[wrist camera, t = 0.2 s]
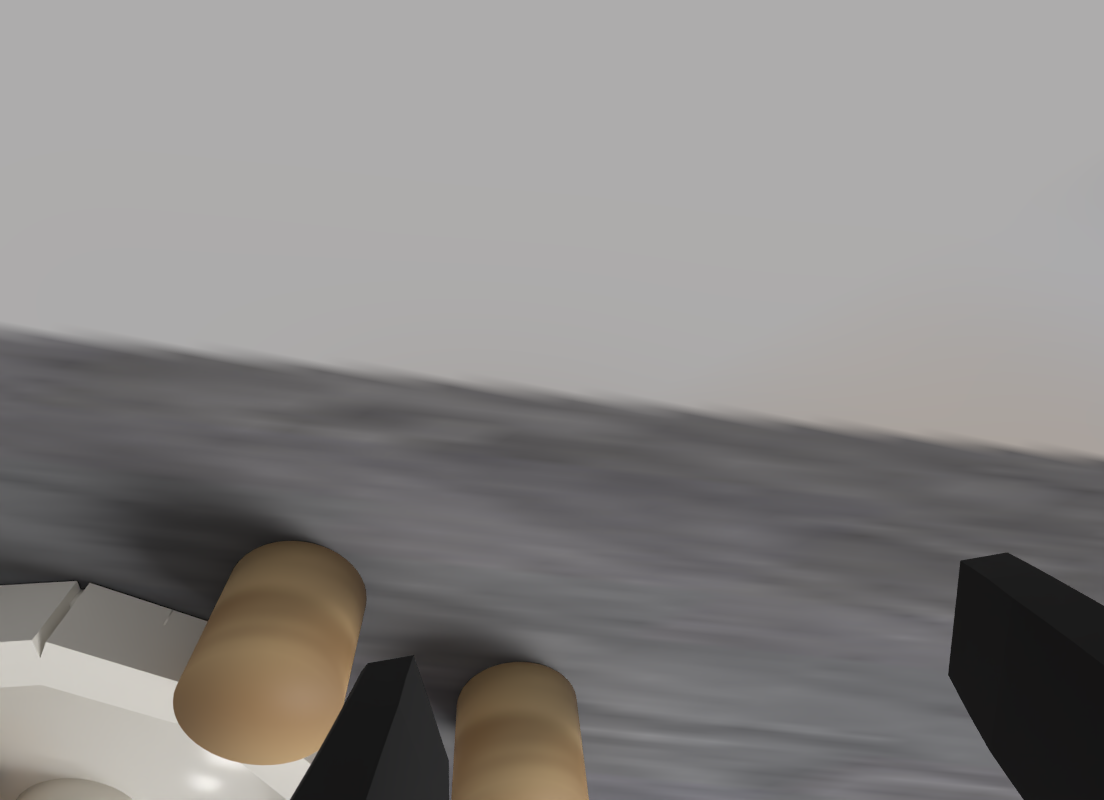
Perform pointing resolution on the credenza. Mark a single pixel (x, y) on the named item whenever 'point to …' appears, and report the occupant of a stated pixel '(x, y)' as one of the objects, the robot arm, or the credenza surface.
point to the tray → (107, 703)
